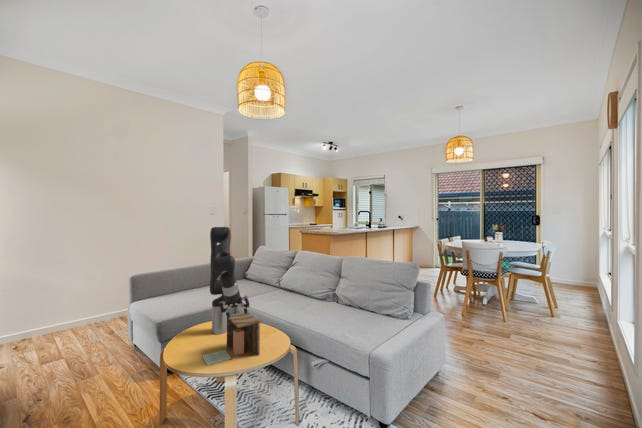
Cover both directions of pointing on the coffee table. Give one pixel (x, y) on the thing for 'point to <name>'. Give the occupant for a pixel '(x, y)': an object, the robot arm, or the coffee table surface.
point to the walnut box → (249, 327)
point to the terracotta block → (238, 341)
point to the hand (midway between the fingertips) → (237, 314)
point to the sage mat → (216, 357)
